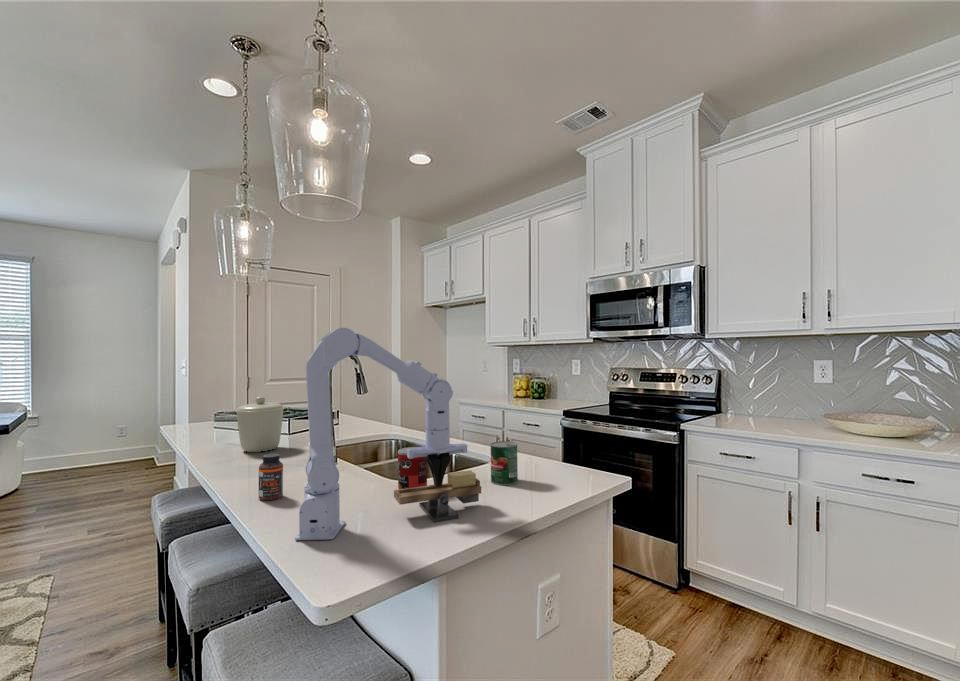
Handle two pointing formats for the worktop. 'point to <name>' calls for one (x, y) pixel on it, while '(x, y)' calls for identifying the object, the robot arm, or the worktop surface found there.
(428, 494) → the beam
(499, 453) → the canned tomato
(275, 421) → the canister
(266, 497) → the supplement bottle
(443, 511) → the stand
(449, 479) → the rider
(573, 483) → the worktop surface
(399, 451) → the canned food
